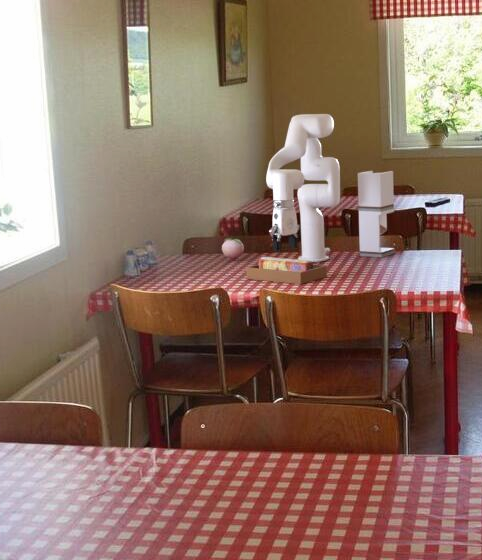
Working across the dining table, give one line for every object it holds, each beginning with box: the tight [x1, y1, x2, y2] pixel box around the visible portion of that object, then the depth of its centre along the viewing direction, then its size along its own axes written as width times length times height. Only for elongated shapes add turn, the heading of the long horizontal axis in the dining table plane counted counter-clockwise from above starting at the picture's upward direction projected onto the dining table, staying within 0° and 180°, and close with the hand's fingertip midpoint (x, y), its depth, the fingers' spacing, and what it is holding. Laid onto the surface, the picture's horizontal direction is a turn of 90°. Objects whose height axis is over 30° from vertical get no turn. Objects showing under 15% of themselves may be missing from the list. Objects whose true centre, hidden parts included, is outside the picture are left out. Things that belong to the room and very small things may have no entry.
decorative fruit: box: [221, 236, 245, 261], centre depth 418 cm, size 9×8×10 cm
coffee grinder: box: [357, 170, 396, 258], centre depth 420 cm, size 11×11×35 cm
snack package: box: [258, 256, 314, 272], centre depth 375 cm, size 21×7×7 cm, turn 64°
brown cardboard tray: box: [245, 263, 328, 285], centre depth 375 cm, size 17×26×4 cm, turn 56°
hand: (285, 249), depth 374 cm, fingers open, 9 cm apart
